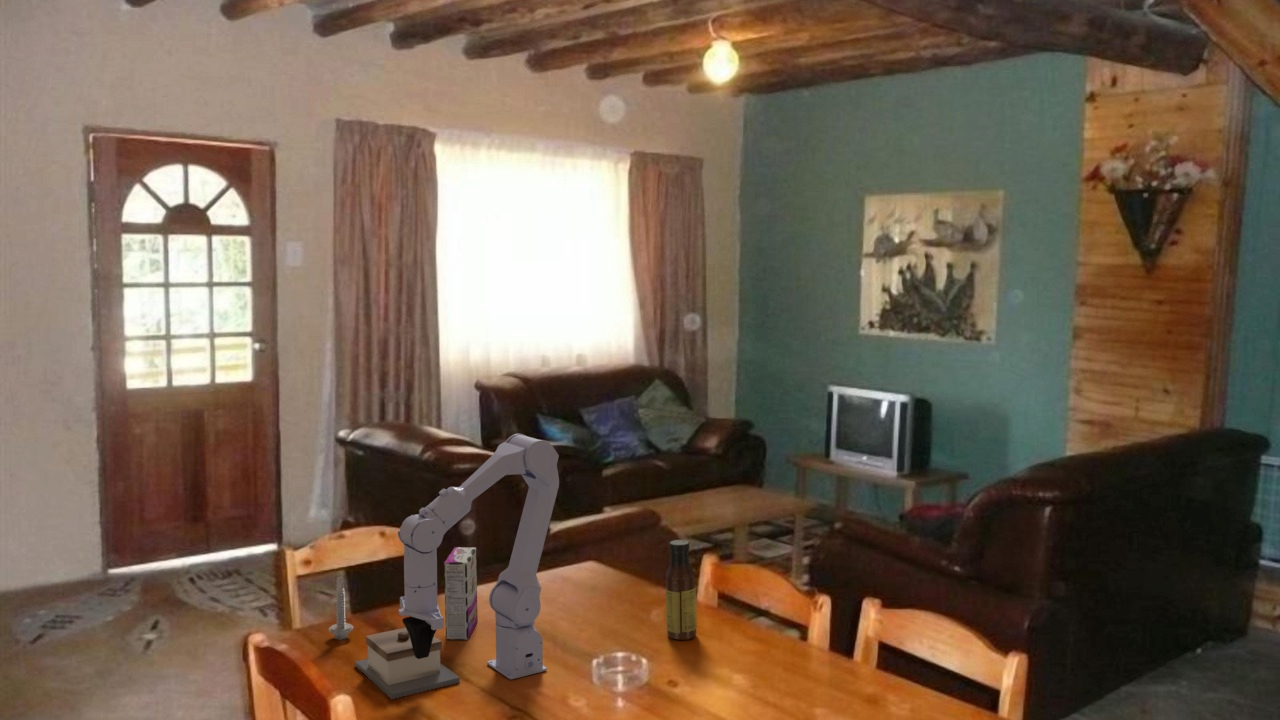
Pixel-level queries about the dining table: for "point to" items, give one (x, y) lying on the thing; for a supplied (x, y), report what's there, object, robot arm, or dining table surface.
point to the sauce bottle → (680, 593)
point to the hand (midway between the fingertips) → (421, 656)
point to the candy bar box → (460, 593)
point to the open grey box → (403, 667)
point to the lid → (396, 644)
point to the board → (410, 681)
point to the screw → (340, 614)
